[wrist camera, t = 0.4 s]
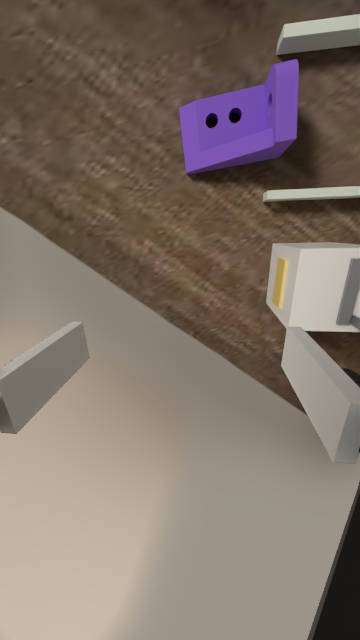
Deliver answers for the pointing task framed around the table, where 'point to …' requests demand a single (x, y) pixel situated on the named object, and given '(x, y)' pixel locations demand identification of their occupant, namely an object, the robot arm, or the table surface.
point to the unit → (316, 286)
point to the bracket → (243, 123)
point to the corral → (310, 39)
